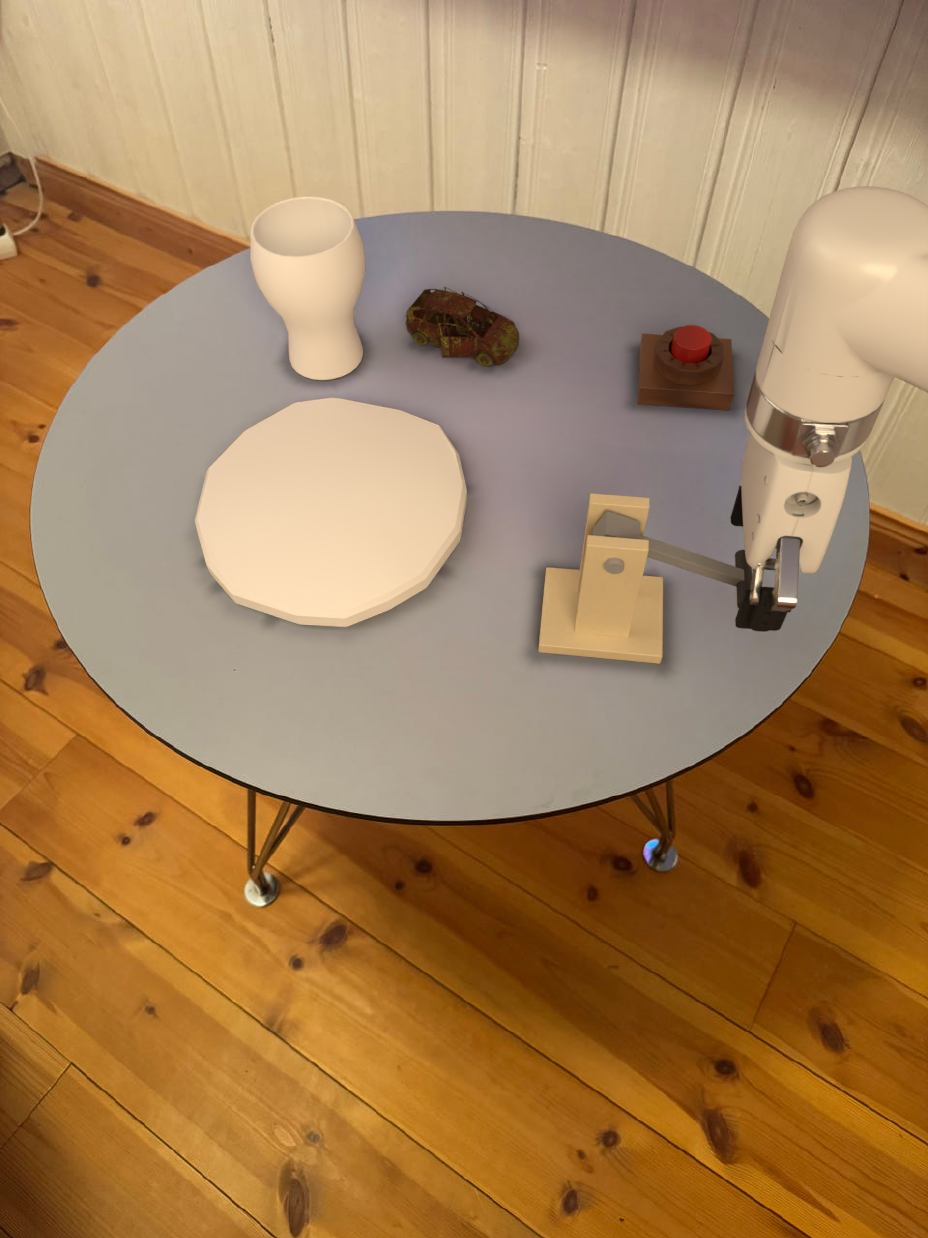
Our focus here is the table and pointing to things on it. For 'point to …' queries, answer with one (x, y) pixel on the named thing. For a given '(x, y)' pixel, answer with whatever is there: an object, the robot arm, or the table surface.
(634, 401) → the table surface
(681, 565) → the lever
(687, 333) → the button
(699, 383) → the button block
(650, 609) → the lever base
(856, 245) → the robot arm
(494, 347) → the toy car
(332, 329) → the cup
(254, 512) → the decorative plate
